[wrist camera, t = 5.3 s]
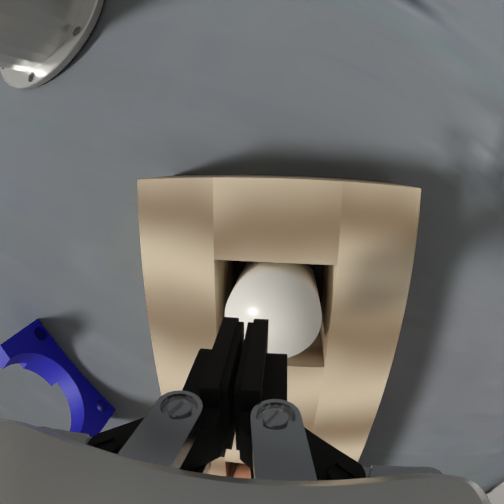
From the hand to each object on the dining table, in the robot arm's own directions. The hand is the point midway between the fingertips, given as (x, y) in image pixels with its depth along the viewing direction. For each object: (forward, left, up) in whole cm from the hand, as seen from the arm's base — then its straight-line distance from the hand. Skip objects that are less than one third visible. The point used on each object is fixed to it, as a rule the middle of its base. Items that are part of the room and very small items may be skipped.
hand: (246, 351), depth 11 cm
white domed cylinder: (+1, +1, -9) cm, 9 cm away
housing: (+9, +1, -10) cm, 13 cm away
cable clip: (+13, -20, -10) cm, 26 cm away
